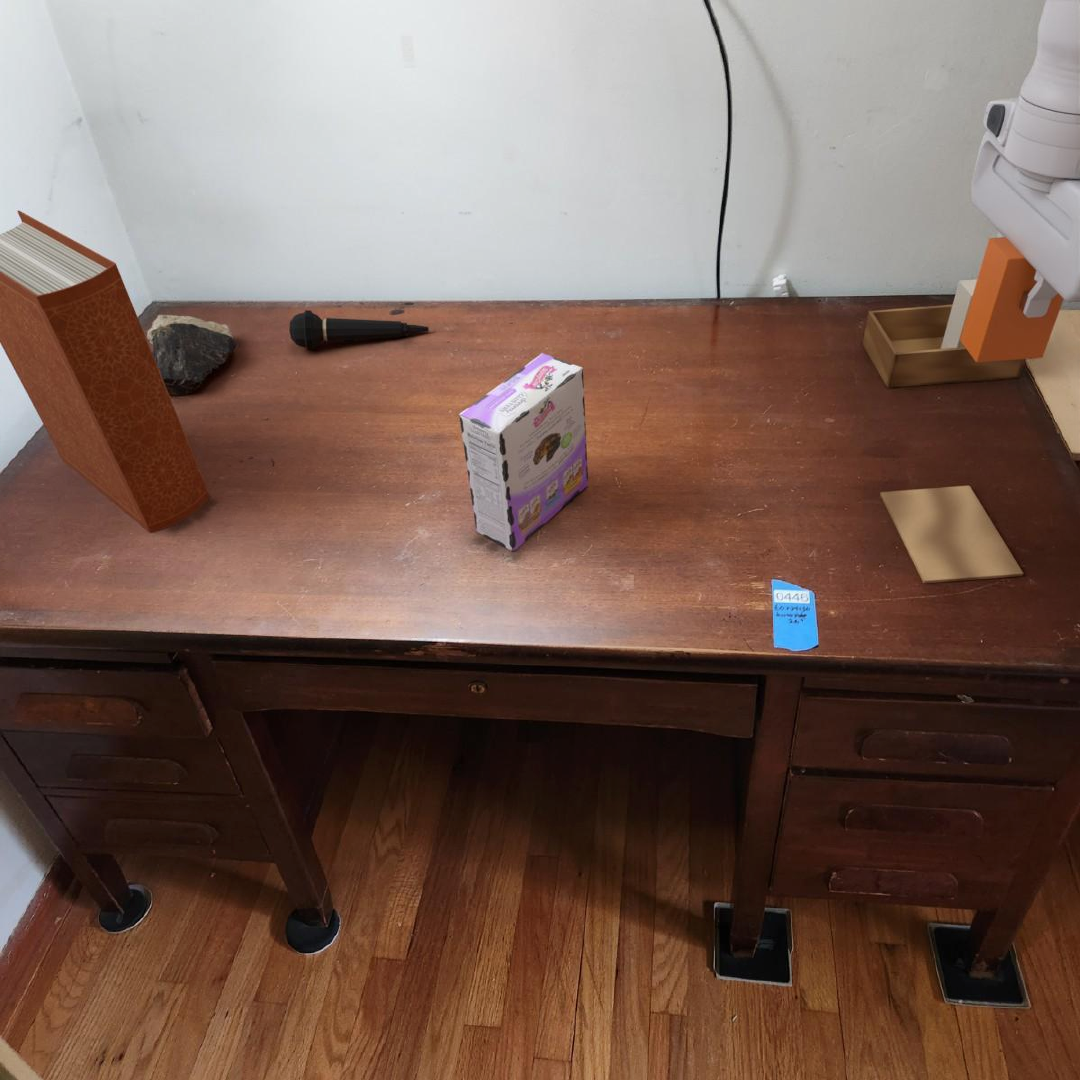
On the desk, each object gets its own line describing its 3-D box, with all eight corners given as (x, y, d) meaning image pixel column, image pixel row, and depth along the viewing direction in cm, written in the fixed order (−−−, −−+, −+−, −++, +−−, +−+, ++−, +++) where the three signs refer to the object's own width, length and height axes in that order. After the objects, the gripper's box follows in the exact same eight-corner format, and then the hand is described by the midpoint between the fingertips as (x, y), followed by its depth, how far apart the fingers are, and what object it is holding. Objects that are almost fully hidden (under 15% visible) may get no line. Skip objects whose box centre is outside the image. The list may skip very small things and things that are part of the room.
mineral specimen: (219, 297, 134) (239, 335, 123) (233, 342, 139) (253, 384, 128) (130, 317, 130) (142, 359, 119) (146, 364, 135) (160, 408, 124)
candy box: (550, 469, 109) (542, 349, 98) (590, 487, 107) (586, 366, 95) (474, 532, 102) (455, 411, 91) (513, 553, 99) (500, 431, 88)
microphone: (428, 344, 138) (292, 346, 135) (427, 305, 136) (289, 307, 133) (429, 352, 133) (289, 354, 130) (428, 312, 131) (285, 313, 128)
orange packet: (1023, 335, 85) (1058, 232, 78) (1042, 358, 82) (1081, 253, 75) (959, 340, 85) (988, 237, 78) (976, 363, 82) (1008, 258, 75)
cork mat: (968, 488, 102) (969, 485, 102) (1022, 576, 92) (1023, 573, 92) (879, 494, 102) (880, 492, 102) (923, 583, 92) (924, 580, 92)
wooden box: (985, 334, 125) (995, 301, 122) (1019, 378, 117) (1031, 343, 114) (861, 343, 125) (868, 310, 122) (887, 388, 117) (895, 354, 114)
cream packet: (985, 345, 122) (1006, 276, 116) (997, 361, 120) (1020, 291, 113) (940, 349, 123) (959, 280, 116) (951, 365, 120) (971, 295, 113)
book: (63, 460, 117) (-56, 237, 96) (121, 430, 121) (18, 210, 101) (154, 536, 105) (41, 300, 84) (215, 500, 109) (121, 266, 89)
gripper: (1186, 185, 63) (1112, 358, 73) (1052, 91, 78) (1005, 245, 88) (1095, 192, 63) (1033, 364, 73) (978, 97, 78) (940, 250, 88)
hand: (1017, 298), depth 80 cm, fingers closed on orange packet, 4 cm apart
